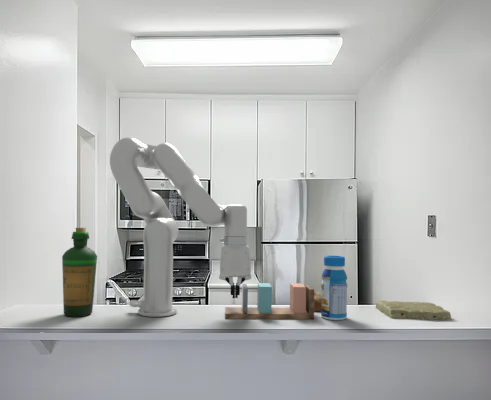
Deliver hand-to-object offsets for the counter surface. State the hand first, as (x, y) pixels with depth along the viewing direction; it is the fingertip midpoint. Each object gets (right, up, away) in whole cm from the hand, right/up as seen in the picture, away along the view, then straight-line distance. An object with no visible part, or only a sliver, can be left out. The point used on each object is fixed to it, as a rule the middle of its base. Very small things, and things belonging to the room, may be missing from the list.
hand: (235, 297), depth 144 cm
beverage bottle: (+32, -7, -2) cm, 33 cm away
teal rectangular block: (+10, -5, 0) cm, 11 cm away
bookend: (+3, -4, 0) cm, 5 cm away
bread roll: (+28, -7, +12) cm, 32 cm away
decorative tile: (+61, -8, +6) cm, 62 cm away
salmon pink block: (+21, -5, +1) cm, 21 cm away
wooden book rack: (+11, -6, 0) cm, 12 cm away
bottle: (-51, -5, -3) cm, 51 cm away
